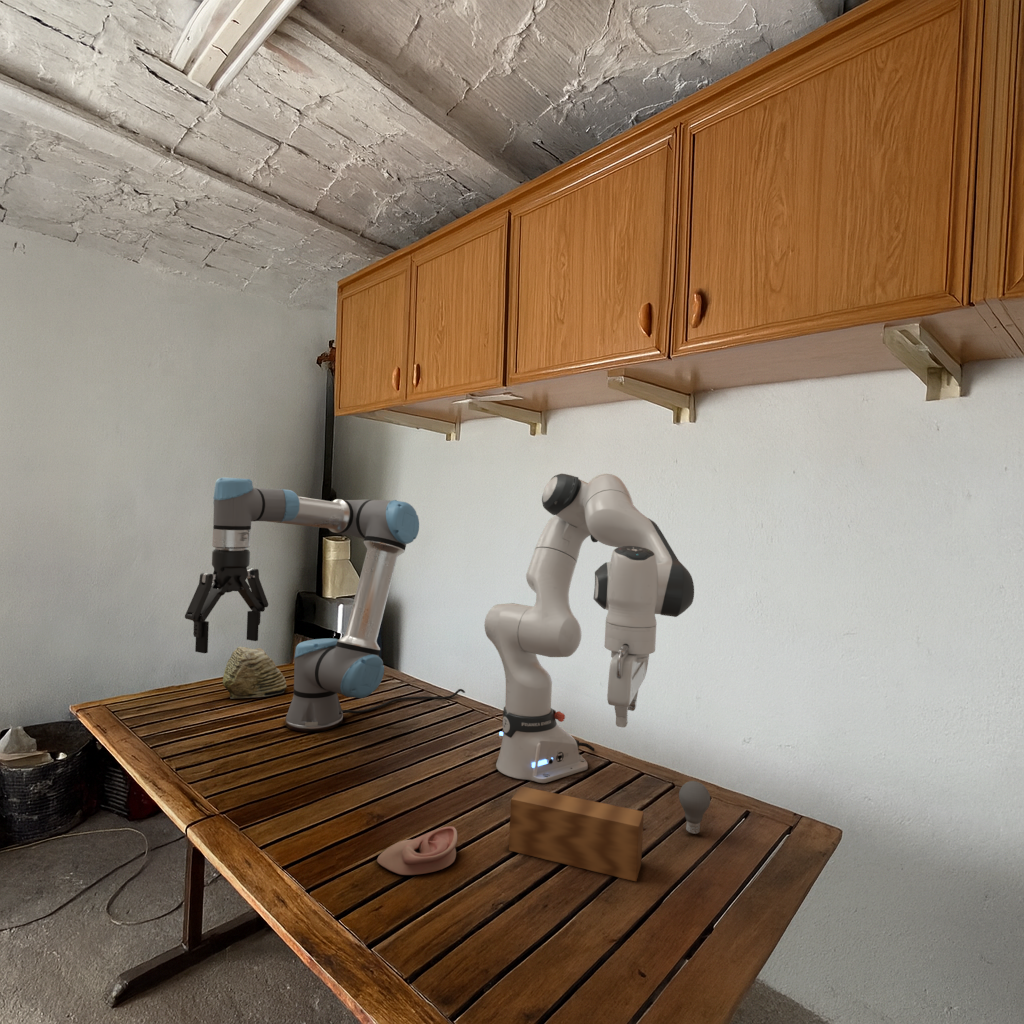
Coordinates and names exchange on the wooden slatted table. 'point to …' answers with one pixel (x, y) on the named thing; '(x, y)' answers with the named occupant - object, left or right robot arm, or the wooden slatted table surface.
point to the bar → (577, 832)
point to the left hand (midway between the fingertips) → (227, 646)
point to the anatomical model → (421, 853)
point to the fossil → (252, 674)
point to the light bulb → (694, 804)
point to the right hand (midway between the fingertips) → (626, 717)
